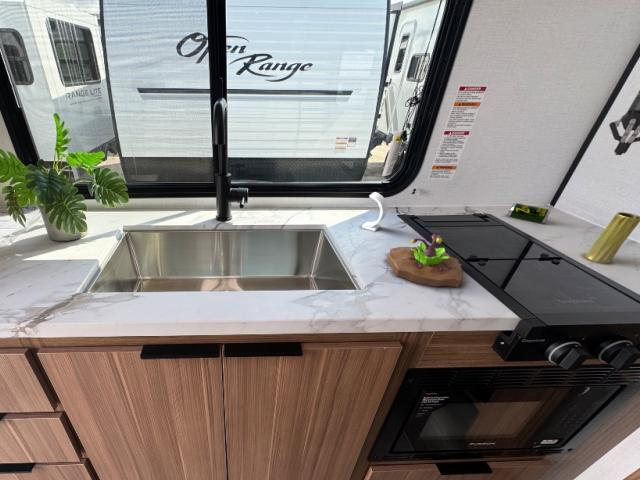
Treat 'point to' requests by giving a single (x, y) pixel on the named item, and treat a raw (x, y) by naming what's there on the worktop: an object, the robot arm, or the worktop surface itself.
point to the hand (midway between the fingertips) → (618, 154)
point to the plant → (426, 264)
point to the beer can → (528, 213)
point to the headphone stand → (383, 211)
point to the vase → (613, 237)
